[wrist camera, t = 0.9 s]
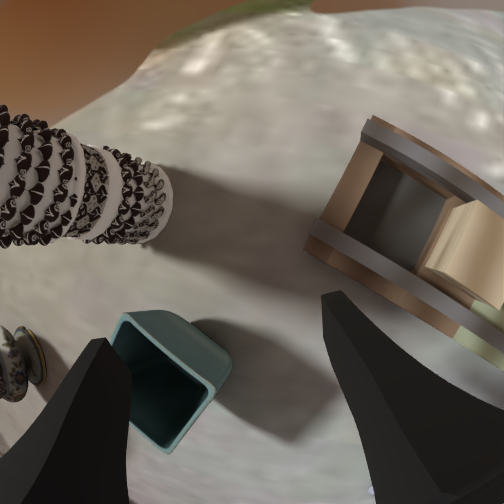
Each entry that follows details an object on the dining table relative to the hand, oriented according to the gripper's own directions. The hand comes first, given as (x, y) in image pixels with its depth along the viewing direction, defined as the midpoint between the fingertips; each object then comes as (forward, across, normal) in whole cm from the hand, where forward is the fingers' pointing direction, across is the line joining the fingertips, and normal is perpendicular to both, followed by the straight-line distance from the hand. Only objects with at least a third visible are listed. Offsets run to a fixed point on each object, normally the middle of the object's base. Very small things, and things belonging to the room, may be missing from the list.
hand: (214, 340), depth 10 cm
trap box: (+8, -21, +10) cm, 24 cm away
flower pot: (+13, +6, +16) cm, 21 cm away
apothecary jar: (+20, +36, +21) cm, 47 cm away
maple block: (+8, -17, +6) cm, 20 cm away
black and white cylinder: (+23, +8, +3) cm, 25 cm away
